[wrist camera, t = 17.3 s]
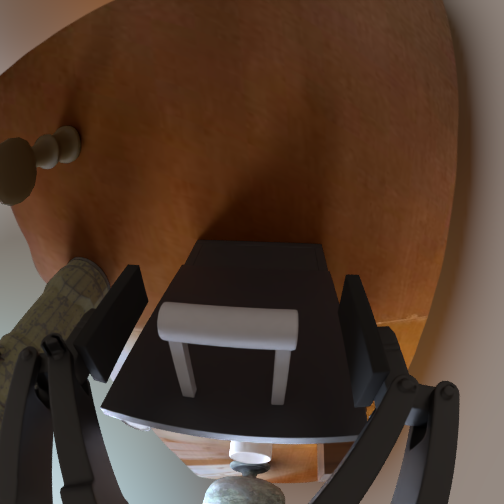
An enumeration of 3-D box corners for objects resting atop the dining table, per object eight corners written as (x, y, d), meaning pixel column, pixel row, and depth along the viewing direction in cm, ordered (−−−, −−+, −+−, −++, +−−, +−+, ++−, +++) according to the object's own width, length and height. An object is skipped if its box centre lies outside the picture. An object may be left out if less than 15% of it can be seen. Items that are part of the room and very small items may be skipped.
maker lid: (365, 440, 12) (414, 352, 9) (104, 414, 13) (56, 324, 10) (328, 278, 28) (337, 210, 25) (182, 271, 30) (175, 205, 27)
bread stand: (312, 408, 53) (313, 471, 40) (365, 405, 52) (374, 465, 39) (304, 430, 59) (304, 484, 46) (351, 428, 58) (356, 480, 45)
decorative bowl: (291, 475, 81) (288, 520, 63) (225, 472, 85) (216, 515, 68) (284, 451, 69) (279, 510, 51) (202, 448, 74) (189, 501, 56)
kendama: (99, 161, 31) (-25, 236, 13) (48, 168, 31) (-60, 235, 14) (94, 114, 28) (-44, 160, 10) (43, 128, 28) (-75, 178, 11)
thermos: (95, 245, 37) (-54, 450, 7) (121, 309, 43) (26, 502, 12) (56, 249, 38) (-77, 416, 8) (83, 307, 44) (-12, 471, 14)
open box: (306, 341, 42) (308, 372, 37) (209, 336, 43) (202, 366, 38) (321, 243, 34) (328, 272, 29) (197, 239, 35) (183, 265, 30)
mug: (233, 402, 54) (226, 450, 44) (274, 404, 53) (271, 453, 43) (239, 425, 59) (233, 466, 50) (273, 427, 59) (271, 469, 49)
